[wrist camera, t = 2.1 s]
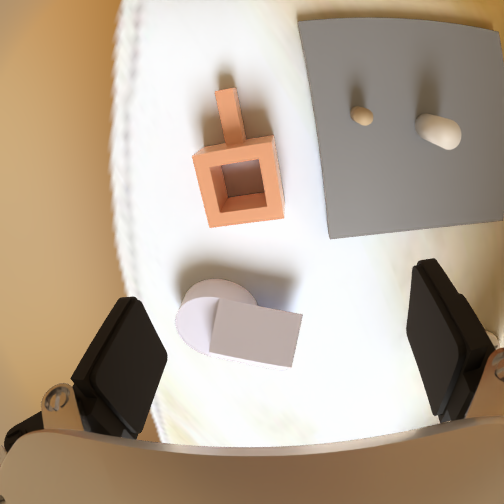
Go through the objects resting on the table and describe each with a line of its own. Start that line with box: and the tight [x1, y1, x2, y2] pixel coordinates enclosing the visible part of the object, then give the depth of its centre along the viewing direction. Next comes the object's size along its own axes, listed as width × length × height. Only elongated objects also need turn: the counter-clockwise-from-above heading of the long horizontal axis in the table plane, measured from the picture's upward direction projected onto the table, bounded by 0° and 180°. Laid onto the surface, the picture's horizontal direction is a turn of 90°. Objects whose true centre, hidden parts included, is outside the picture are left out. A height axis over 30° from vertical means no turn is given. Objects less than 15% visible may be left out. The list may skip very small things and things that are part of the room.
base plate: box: [298, 18, 504, 239], centre depth 22 cm, size 20×20×6 cm
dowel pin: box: [350, 106, 373, 126], centre depth 23 cm, size 1×1×2 cm
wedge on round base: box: [175, 279, 303, 370], centre depth 34 cm, size 9×7×13 cm
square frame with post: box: [192, 88, 285, 228], centre depth 26 cm, size 11×6×4 cm, turn 10°
